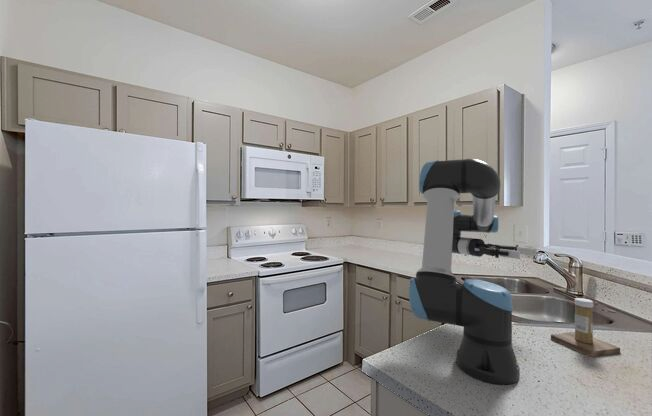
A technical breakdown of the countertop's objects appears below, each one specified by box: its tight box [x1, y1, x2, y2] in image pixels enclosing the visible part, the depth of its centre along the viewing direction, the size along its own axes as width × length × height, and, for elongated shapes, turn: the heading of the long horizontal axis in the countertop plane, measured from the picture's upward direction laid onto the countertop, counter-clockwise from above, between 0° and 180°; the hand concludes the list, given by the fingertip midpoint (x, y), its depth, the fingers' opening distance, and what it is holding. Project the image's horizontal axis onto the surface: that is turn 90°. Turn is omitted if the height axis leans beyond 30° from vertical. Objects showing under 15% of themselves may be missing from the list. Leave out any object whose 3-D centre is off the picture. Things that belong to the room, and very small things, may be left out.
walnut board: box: [550, 331, 621, 358], centre depth 92 cm, size 12×12×2 cm
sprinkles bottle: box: [574, 297, 594, 344], centre depth 92 cm, size 5×5×14 cm
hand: (528, 253), depth 105 cm, fingers open, 13 cm apart
